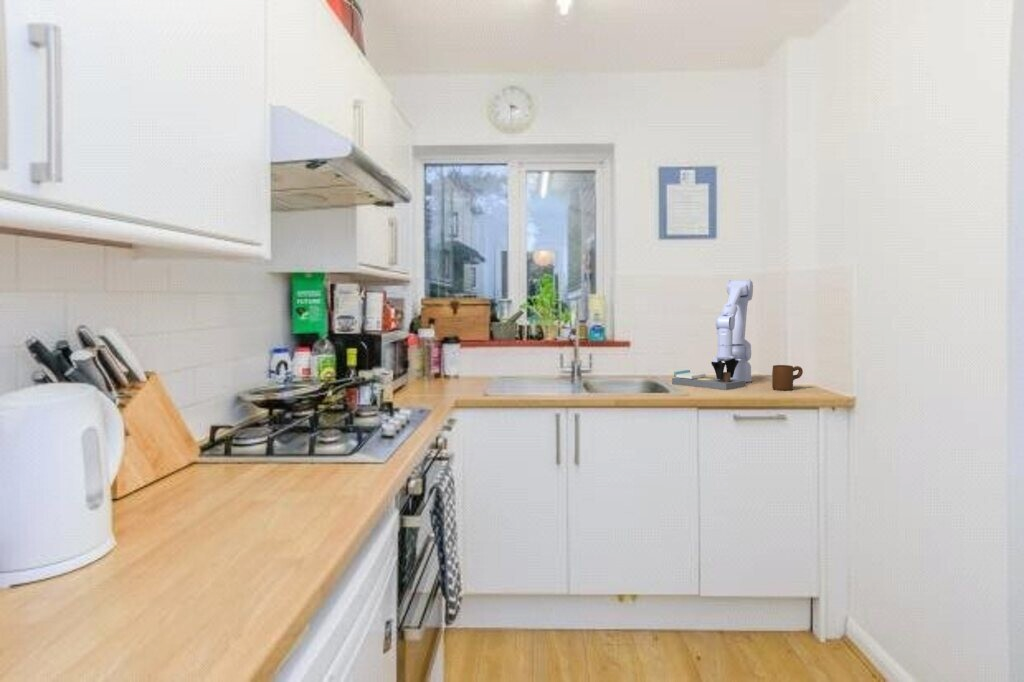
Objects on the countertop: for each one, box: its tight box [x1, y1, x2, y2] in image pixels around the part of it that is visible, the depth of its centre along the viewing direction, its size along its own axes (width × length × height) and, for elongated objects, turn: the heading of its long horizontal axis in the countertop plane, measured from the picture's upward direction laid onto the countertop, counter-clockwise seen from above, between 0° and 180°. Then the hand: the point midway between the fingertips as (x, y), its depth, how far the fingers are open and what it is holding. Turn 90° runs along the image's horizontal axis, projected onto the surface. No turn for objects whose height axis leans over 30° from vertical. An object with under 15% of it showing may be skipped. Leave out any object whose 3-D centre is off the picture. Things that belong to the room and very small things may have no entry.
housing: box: [671, 376, 746, 391], centre depth 268 cm, size 14×26×3 cm, turn 39°
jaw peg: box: [720, 371, 730, 382], centre depth 262 cm, size 4×4×6 cm
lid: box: [673, 369, 707, 379], centre depth 275 cm, size 10×9×2 cm
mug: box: [771, 364, 804, 392], centre depth 252 cm, size 12×8×9 cm, turn 96°
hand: (724, 378), depth 262 cm, fingers open, 7 cm apart
